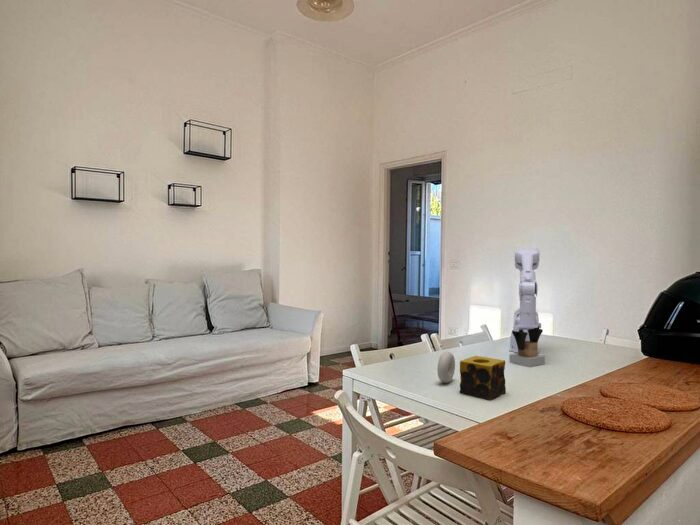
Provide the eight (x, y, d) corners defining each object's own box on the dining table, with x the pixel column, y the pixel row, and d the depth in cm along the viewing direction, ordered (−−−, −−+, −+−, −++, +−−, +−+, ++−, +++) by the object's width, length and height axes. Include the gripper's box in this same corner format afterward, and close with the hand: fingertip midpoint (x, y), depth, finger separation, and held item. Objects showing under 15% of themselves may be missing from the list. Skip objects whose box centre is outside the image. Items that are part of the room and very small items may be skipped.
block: (517, 355, 175) (518, 342, 175) (526, 353, 177) (526, 340, 177) (529, 357, 171) (529, 344, 170) (537, 355, 173) (537, 342, 173)
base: (509, 362, 176) (509, 354, 175) (524, 359, 181) (524, 351, 180) (530, 367, 168) (530, 359, 168) (544, 364, 173) (544, 356, 173)
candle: (506, 393, 137) (506, 360, 137) (491, 401, 130) (491, 366, 129) (475, 386, 144) (475, 354, 144) (458, 393, 136) (459, 360, 136)
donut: (445, 387, 143) (446, 355, 142) (435, 385, 144) (435, 354, 144) (456, 379, 151) (456, 349, 151) (446, 378, 153) (446, 348, 153)
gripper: (524, 315, 167) (524, 352, 167) (548, 312, 175) (548, 348, 175) (508, 313, 172) (508, 349, 173) (532, 310, 180) (531, 345, 181)
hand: (527, 348), depth 174 cm, fingers open, 7 cm apart
